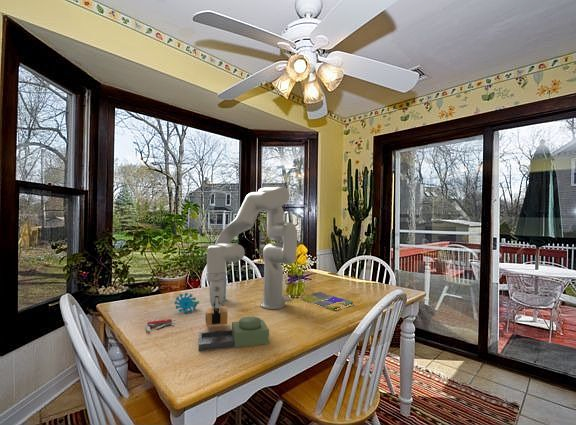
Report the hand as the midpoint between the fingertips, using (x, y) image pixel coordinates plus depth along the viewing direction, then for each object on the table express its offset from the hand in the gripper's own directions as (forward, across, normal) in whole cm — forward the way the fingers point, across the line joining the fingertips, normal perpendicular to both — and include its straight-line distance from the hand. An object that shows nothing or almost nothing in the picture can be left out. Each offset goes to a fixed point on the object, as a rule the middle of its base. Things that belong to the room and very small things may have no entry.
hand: (215, 319), depth 117 cm
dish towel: (+5, +22, -60) cm, 64 cm away
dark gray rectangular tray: (+3, -14, +1) cm, 15 cm away
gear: (+3, +22, +12) cm, 25 cm away
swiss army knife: (+3, +6, +21) cm, 22 cm away
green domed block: (+3, -14, -11) cm, 19 cm away
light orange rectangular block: (+1, 0, 0) cm, 1 cm away
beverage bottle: (+4, +37, -3) cm, 37 cm away
